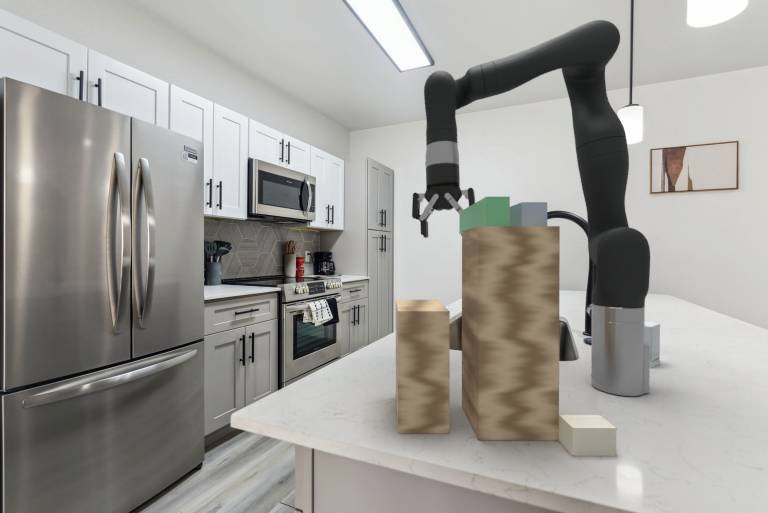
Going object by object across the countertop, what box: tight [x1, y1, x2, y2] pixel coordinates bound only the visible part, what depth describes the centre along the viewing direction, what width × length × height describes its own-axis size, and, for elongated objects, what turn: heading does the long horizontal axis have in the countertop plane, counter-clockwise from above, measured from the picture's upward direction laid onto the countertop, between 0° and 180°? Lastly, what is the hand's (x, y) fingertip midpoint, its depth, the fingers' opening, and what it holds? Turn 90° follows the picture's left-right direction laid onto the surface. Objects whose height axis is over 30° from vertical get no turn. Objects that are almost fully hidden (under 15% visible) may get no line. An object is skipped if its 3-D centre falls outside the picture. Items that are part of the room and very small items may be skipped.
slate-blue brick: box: [510, 201, 548, 226], centre depth 60 cm, size 4×6×4 cm, turn 0°
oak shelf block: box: [461, 225, 561, 441], centre depth 60 cm, size 12×12×32 cm
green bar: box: [458, 196, 511, 235], centre depth 64 cm, size 4×20×4 cm, turn 0°
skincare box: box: [644, 320, 661, 369], centre depth 94 cm, size 10×6×10 cm, turn 36°
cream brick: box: [558, 414, 618, 457], centre depth 52 cm, size 6×4×4 cm, turn 89°
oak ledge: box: [395, 299, 451, 434], centre depth 63 cm, size 8×14×19 cm, turn 0°
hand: (444, 236), depth 82 cm, fingers open, 8 cm apart
